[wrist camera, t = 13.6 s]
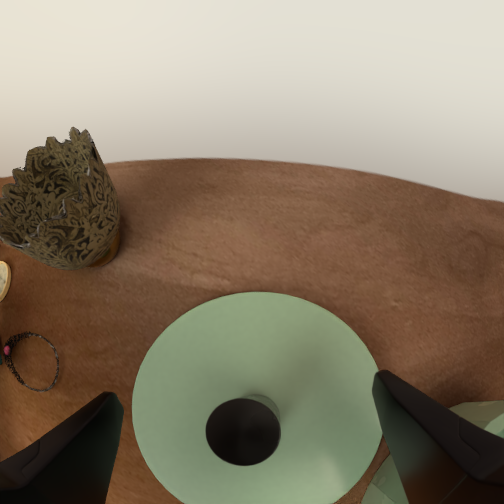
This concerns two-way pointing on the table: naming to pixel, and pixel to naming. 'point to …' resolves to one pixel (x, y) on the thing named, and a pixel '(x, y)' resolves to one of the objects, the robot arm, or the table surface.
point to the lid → (257, 403)
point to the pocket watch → (4, 279)
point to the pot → (386, 478)
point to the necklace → (6, 353)
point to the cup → (62, 206)
